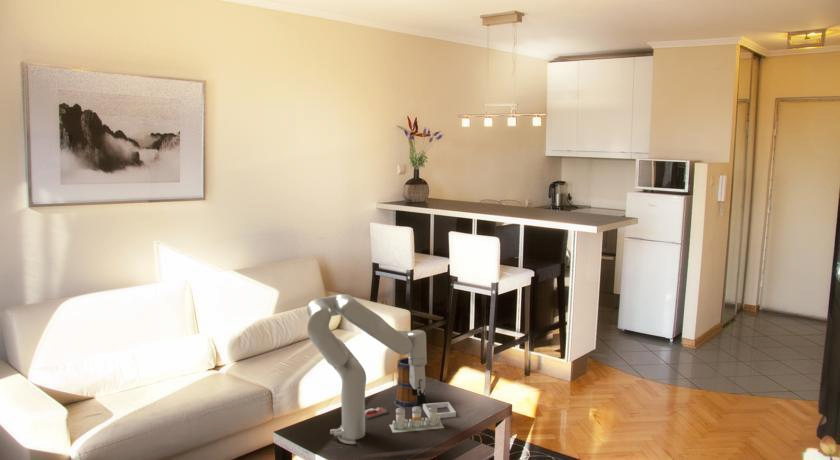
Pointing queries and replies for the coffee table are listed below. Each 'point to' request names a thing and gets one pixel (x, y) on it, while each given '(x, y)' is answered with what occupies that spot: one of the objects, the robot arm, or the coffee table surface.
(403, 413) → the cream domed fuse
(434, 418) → the far fuse
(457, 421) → the coffee table surface
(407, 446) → the coffee table surface
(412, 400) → the mug
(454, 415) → the tray
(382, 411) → the red flat piece
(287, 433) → the coffee table surface
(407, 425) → the board
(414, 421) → the marked fuse
